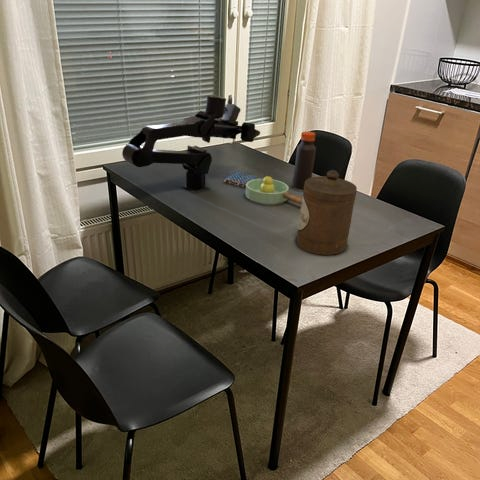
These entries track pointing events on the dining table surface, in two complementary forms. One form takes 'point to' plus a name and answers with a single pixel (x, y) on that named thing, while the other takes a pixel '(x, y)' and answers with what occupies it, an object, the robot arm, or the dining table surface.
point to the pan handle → (292, 198)
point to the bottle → (304, 160)
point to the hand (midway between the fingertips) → (251, 131)
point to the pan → (266, 198)
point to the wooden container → (326, 214)
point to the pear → (267, 185)
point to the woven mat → (239, 179)
